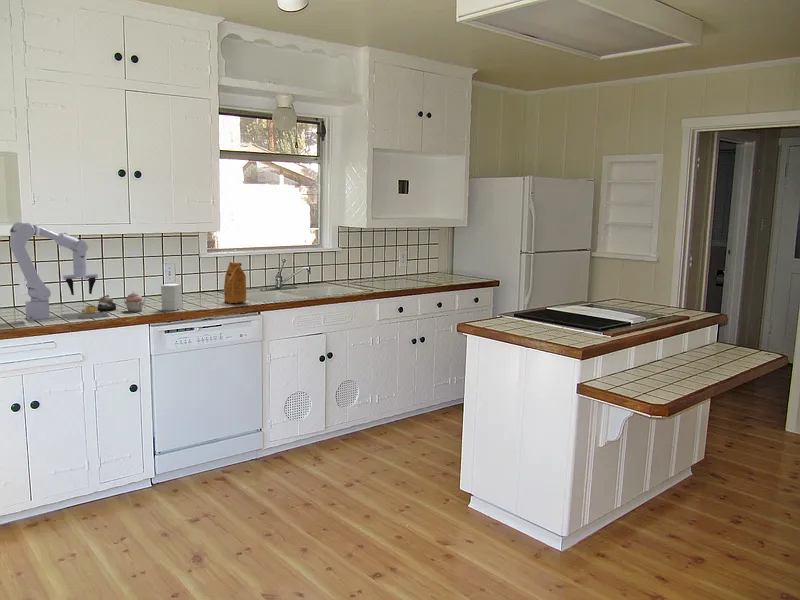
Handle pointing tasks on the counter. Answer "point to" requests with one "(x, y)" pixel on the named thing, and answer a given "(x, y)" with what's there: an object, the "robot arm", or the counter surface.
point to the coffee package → (235, 284)
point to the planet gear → (90, 310)
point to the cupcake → (134, 302)
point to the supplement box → (171, 296)
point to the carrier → (85, 315)
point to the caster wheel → (106, 304)
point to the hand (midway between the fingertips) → (81, 294)
